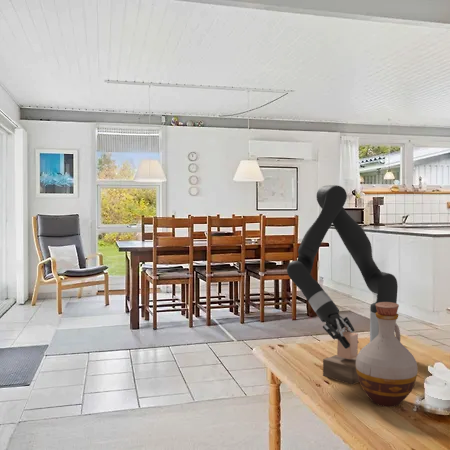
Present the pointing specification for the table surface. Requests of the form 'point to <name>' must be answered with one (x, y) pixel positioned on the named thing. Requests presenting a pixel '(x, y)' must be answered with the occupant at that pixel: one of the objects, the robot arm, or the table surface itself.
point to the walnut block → (341, 369)
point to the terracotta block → (352, 349)
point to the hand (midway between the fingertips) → (352, 345)
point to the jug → (386, 361)
